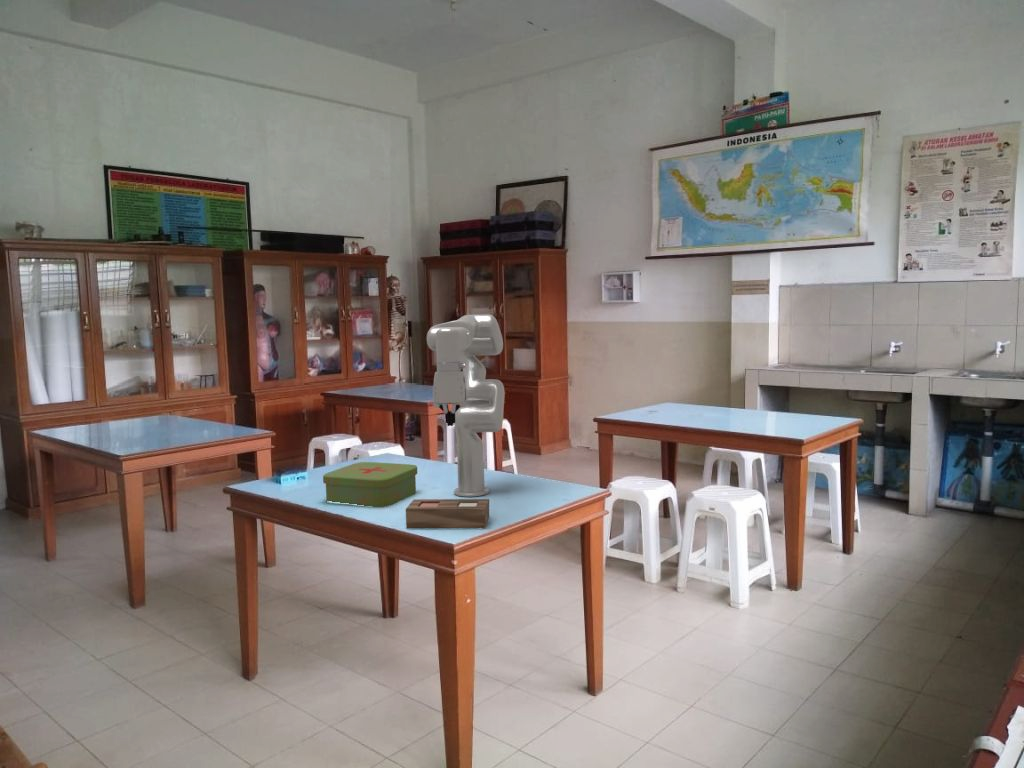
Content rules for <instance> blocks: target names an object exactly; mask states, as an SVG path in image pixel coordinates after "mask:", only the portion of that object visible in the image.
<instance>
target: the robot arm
mask: <svg viewBox="0 0 1024 768" xmlns="http://www.w3.org/2000/svg"><path fill="white" fill-rule="evenodd" d="M503 341H504V339H503V335H502V332H501V329H500V325H499V323H498V320H497V319H496V317H495V316H494V315H492V314H488V313H486V314H465V315H463V316H461V317H460V318H458V319H457V320H456V319H455V320H452V321H448V322H444V323H439V324H435V325H433V326H431V327H430V328H429V330H428V331H427V333H426V344H427V346H428V348H429V349H430V350H431V351H435V352H436V354H435V356H436V371H435V372H434V376H433V390H432V393H433V394H432V398H433V399H432V401H433V402H432V407H433V408H436V409H440V410H441V411H442V412H443V413H444V414H445V415H444V416H445V417H444V421H445V424H446V426H447V427H453V426H454V430H455V436H456V453H457V454H456V458H457V459H456V461H457V488H455V489H454V490H453V494H454V495H455V496H458V497H466V498H467V497H468V498H469V497H470V498H472V497H473V498H474V497H481V496H485V495H488V494H489V493H490V489H489V488H488V487H487V486H485V455H484V454H485V453H484V451H485V450H484V442H483V440H482V439H481V437H480V436H479V435H478V433H497V432H499V431H501V430H502V426H503V420H504V406H505V395H506V394H505V386H504V384H503V382H502V381H501V380H499V379H493V378H491V379H490V378H489V379H488V378H487V379H486V376H487V369H486V367H485V365H484V364H483V363H482V361H481V360H480V359H478V358H477V357H476V356H497V355H500V354H501V353H502V352H503V349H504V342H503ZM461 370H462V371H461ZM450 404H451V410H450V409H449V408H450V407H449V405H450Z"/></svg>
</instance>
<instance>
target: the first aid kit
mask: <svg viewBox="0 0 1024 768" xmlns="http://www.w3.org/2000/svg"><path fill="white" fill-rule="evenodd" d="M417 475H418V466H417V465H416V464H410V463H409V464H407V463H406V464H405V463H393V462H391V463H389V462H377V461H376V462H370V461H365V462H364V461H362V462H356V463H352V464H349V465H346V466H344V467H340V468H338V469H335V470H331V471H328V472H326V473H324V474H323V475H322V482H323V484H325V495H326V497H325V499H326V502H327V501H332V502H340V503H349V504H357V505H364V506H363V507H365V506H373V507H372V508H386V507H390V506H392V505H394V504H397V503H398V501H399V502H400V500H401V501H402V500H405V499H407V498H409V497H411V496H413V495H415V494H416V493H417V485H416V484H417V483H416V481H417V480H416V476H417ZM396 502H397V503H396ZM389 505H390V506H389ZM385 506H386V507H385Z"/></svg>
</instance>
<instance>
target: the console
mask: <svg viewBox="0 0 1024 768" xmlns="http://www.w3.org/2000/svg"><path fill="white" fill-rule="evenodd" d="M422 503H439V504H438V506H437V507H420V505H421V504H422ZM460 503H477V506H459V504H460ZM490 516H491V515H490V499H489V498H460V499H459V498H455V499H454V498H449V499H448V498H446V499H445V498H444V499H443V498H439V499H438V498H430V499H429V498H428V499H427V498H426V499H425V498H424V499H422V498H421V499H418V498H416V499H415V498H414V499H413V500H412V501H411V502H410V503H409V505H408V506H407V507H406V508H405V529H406V528H482V529H483V530H484V529H486V528H487V525H488V523H489V521H490Z"/></svg>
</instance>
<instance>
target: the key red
mask: <svg viewBox="0 0 1024 768" xmlns="http://www.w3.org/2000/svg"><path fill="white" fill-rule="evenodd" d="M438 504H439V503H422V504H421V505H420V507H437V506H438Z"/></svg>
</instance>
